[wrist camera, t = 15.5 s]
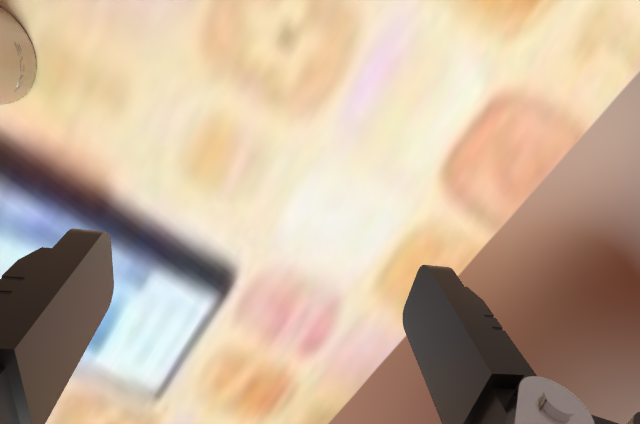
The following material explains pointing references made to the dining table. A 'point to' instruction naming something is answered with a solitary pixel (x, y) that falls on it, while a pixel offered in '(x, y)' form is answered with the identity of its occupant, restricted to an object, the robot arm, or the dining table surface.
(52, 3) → the dining table surface
